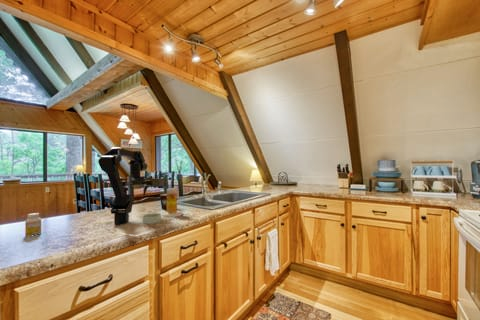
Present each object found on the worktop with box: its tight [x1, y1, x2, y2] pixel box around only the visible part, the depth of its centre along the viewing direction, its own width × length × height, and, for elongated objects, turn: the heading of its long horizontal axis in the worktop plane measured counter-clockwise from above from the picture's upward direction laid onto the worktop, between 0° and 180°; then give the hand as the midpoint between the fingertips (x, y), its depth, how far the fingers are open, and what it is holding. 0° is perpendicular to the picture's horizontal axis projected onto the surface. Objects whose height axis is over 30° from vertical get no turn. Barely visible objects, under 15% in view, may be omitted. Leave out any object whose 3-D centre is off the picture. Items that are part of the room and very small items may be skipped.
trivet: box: [161, 209, 183, 218], centre depth 136 cm, size 12×12×2 cm
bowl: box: [141, 212, 162, 225], centre depth 121 cm, size 9×9×4 cm
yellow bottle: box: [166, 187, 178, 213], centre depth 136 cm, size 6×6×15 cm
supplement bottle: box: [24, 212, 42, 237], centre depth 102 cm, size 5×5×10 cm
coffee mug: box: [159, 193, 167, 211], centre depth 156 cm, size 12×9×10 cm
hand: (135, 197), depth 132 cm, fingers open, 9 cm apart
